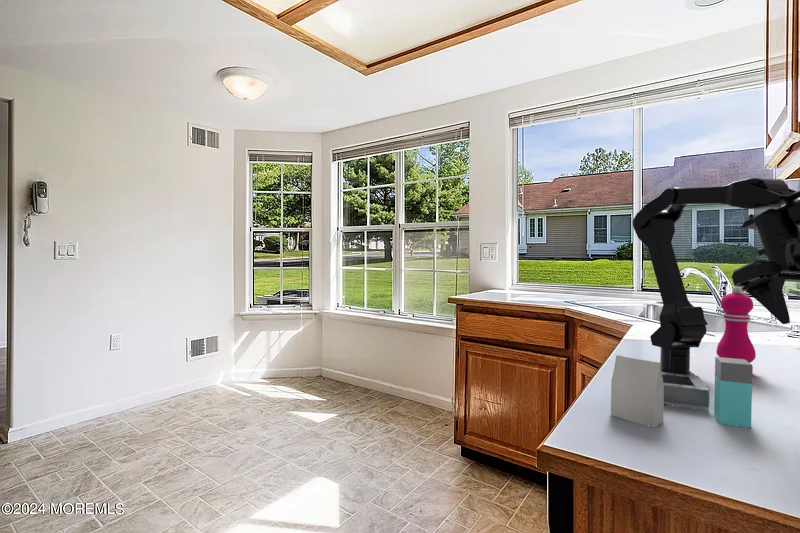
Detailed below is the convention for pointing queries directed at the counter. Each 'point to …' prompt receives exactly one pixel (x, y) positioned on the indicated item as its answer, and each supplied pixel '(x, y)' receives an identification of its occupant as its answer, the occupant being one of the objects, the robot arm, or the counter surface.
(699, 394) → the block
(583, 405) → the counter surface
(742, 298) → the pepper mill
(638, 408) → the tea packet
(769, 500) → the counter surface
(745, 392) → the plug
